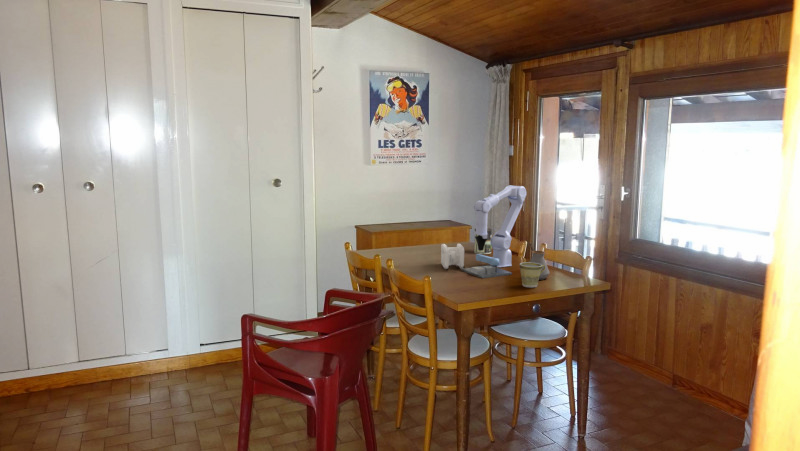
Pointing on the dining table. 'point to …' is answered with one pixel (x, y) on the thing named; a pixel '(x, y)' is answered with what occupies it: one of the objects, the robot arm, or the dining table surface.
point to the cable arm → (487, 259)
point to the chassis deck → (487, 275)
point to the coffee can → (487, 244)
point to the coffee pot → (539, 261)
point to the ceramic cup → (530, 273)
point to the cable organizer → (452, 256)
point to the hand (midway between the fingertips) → (480, 250)
